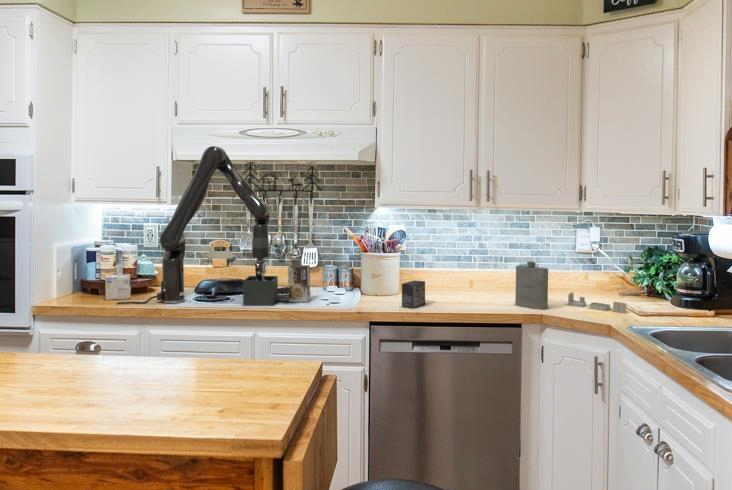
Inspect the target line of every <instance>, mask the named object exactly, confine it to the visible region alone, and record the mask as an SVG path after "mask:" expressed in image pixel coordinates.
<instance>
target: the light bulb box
mask: <svg viewBox="0 0 732 490" xmlns="http://www.w3.org/2000/svg"><path fill="white" fill-rule="evenodd" d="M131 280H132V279H131V274H130V273H125V274H107V275H106V276H105V277H104V281H105V301H111V300H127V299H131V297H132V282H131Z"/></svg>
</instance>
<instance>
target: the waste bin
mask: <svg viewBox="0 0 732 490" xmlns="http://www.w3.org/2000/svg"><path fill="white" fill-rule="evenodd" d="M278 278H279V275H264V280H266V281H256V280H257V276H256V275H248V276H247V277H246V278H245V279H244V280H242V305H243V306H257V307H258V306H260V307H261V306H266V307H267V306H268V307H269V306H274V305H275V304H276V302H277V301H278V299H279V296H278V295H279V294H278V293H279V290H278V289H279V287H278V286H279V285H278V284H279V282H278V281H279V279H278Z"/></svg>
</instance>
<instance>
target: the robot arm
mask: <svg viewBox="0 0 732 490" xmlns="http://www.w3.org/2000/svg"><path fill="white" fill-rule="evenodd" d="M216 170H218V171H219V172H220V173H221V174H222V175H223V176H224V178H225V179H226V180H227V182H228V183H229V186H230V187H231V189H232V190H233V192H234V193H235V194H236V195H237V197H238V198H239V199H240V200H241V202H243V204H244V206H245V208H246V209H247V211H248V212H249V213H250V215H251V216H253V217H254V222H253V225H252V239H251V256H252V258H255V259H256V261H255V263H254V271H255V276H257V281H262V276H263V275H262V274H263V273H264V276H266V272H267V260H266V258H269V257H270V240H269V239H270V238H269V223H270V215H271V214H270V213H271V211H270V206H269V205H268V204H267V203H266V202H263V201H261V200H260V198H259V197H258V196H257V193H256V191H255V190H254V189H253V187H252V186H251V185H250V184H249V182H248V181H246V179H245V178H244V176H242V174H241V173H240V172H239V171H238V170H237V168H236V166H235V165H234V164H233V162H232V160H231V159H230V157H229V156H228V153H227V152H226V151H225V150H224V149H223V148H222V147H220V146H216V145H211V146H209V147H207V148H206V149H205V150H204V151H203V153H202V155H201V158H200V161H199V163H198V166H197V167H196V170H195V172H194V174H193V176H192V178H191V179H190V181H189V183H188V185H187V187H186V188H185V190H184V192H183V194H182V196H181V198H180V200H179V201H178V204H177V206H176V208H175V211H174V212H173V215H172V217H171V219H170V221H169V222H168V223H167V225H166V226H165V228H164V229H163V231H162V233H161V234H160V236H159V244H160V246H161V248H163V249H164V254H163V256H162V259H161V262H162V263H161V264H162V265H161V269H162V270H161V271H162V273H161V274H162V280H161V281H160V291H159V292H157V293H156V295H154V296H152V297H149V298H148V299H147V300H145V301H118V302H117V305H124V304H125V305H127V304H128V305H129V304H137V305H143V304H147V303H149V302H150V301H151V300H153V299H156V301H160V303H164V304H178V303H183V302H185V293H186V292H185V257H186V236H185V233H184V232H185V229H186V227H187V226H188V224H189V223H190V222H191V220H192V219H193V218H194V217H195V215H196V214H197V213H198V212H199V210H200V209H201V207H202V206H203V203H204V201H205V199H206V197H207V194H208V191H209V187H210V182H211V179H212V177H213V175H214V174H215V172H216Z"/></svg>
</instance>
